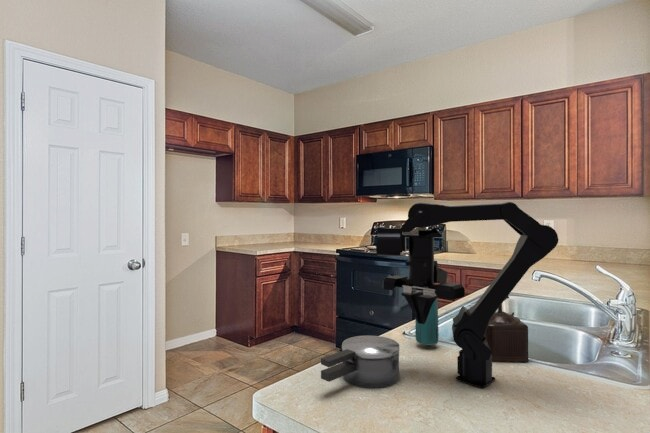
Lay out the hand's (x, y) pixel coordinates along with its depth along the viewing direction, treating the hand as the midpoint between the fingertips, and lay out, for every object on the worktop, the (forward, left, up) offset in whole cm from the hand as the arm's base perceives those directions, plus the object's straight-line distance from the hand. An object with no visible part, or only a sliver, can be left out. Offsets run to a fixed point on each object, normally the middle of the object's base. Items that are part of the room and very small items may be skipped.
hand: (421, 323), depth 91 cm
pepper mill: (-6, -28, -12) cm, 31 cm away
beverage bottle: (+10, -18, -12) cm, 24 cm away
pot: (+8, +13, -12) cm, 20 cm away
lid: (+8, +13, -6) cm, 16 cm away
